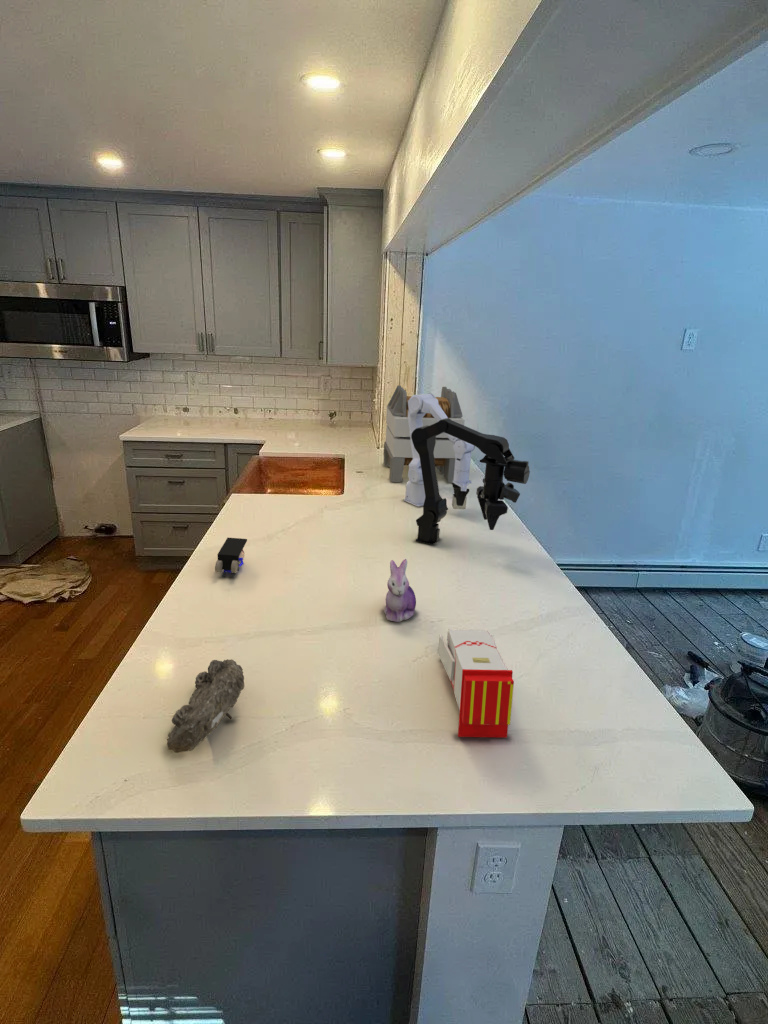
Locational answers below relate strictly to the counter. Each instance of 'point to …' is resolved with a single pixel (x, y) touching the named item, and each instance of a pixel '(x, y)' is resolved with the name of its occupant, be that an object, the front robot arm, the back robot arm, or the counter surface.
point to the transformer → (399, 434)
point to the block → (454, 503)
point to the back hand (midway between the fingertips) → (458, 503)
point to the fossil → (206, 705)
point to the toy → (478, 682)
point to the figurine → (399, 594)
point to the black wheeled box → (230, 556)
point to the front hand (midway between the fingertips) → (488, 524)
